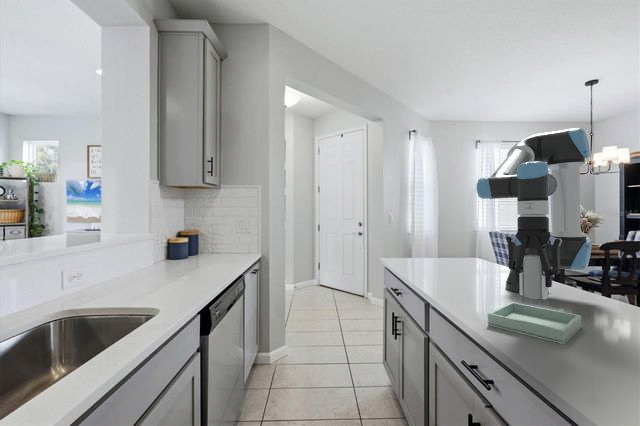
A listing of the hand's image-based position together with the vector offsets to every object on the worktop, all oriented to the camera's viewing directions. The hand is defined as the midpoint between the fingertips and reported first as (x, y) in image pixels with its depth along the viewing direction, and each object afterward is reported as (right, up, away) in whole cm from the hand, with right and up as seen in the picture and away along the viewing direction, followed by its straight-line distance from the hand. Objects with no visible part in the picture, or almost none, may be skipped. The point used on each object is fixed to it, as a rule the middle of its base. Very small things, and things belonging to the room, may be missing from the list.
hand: (533, 296), depth 90 cm
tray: (0, -9, 0) cm, 9 cm away
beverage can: (0, -1, 0) cm, 1 cm away
